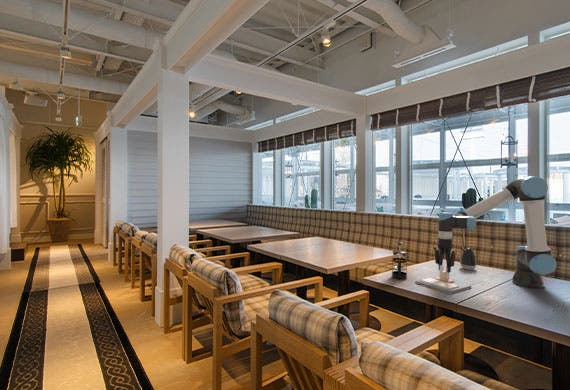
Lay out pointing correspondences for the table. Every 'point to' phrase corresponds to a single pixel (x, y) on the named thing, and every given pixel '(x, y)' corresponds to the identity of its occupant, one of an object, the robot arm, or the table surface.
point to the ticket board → (443, 285)
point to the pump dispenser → (468, 259)
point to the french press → (399, 265)
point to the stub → (442, 277)
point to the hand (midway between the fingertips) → (444, 276)
